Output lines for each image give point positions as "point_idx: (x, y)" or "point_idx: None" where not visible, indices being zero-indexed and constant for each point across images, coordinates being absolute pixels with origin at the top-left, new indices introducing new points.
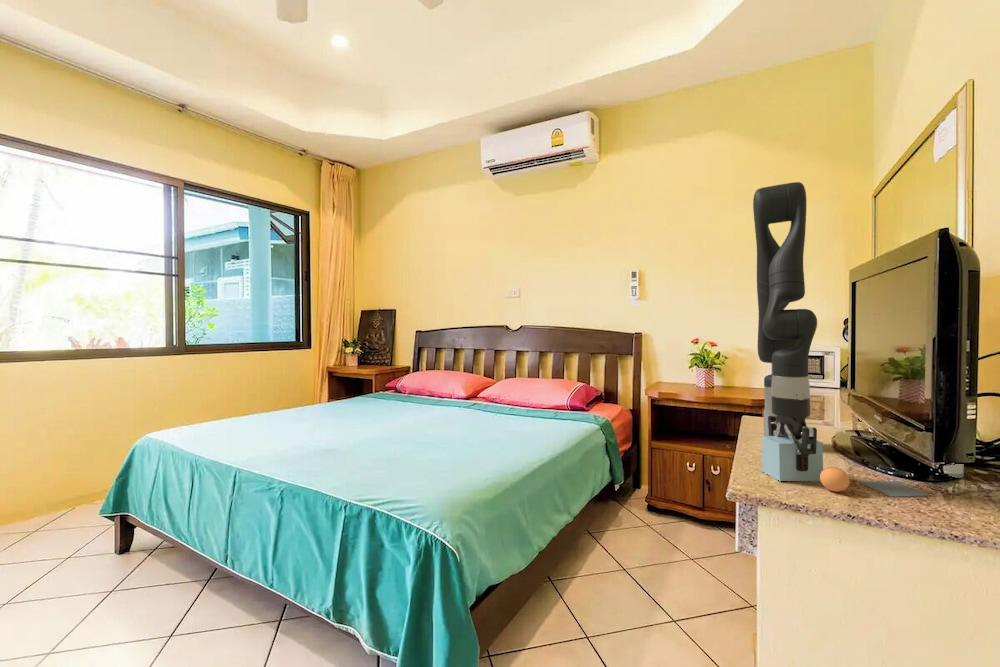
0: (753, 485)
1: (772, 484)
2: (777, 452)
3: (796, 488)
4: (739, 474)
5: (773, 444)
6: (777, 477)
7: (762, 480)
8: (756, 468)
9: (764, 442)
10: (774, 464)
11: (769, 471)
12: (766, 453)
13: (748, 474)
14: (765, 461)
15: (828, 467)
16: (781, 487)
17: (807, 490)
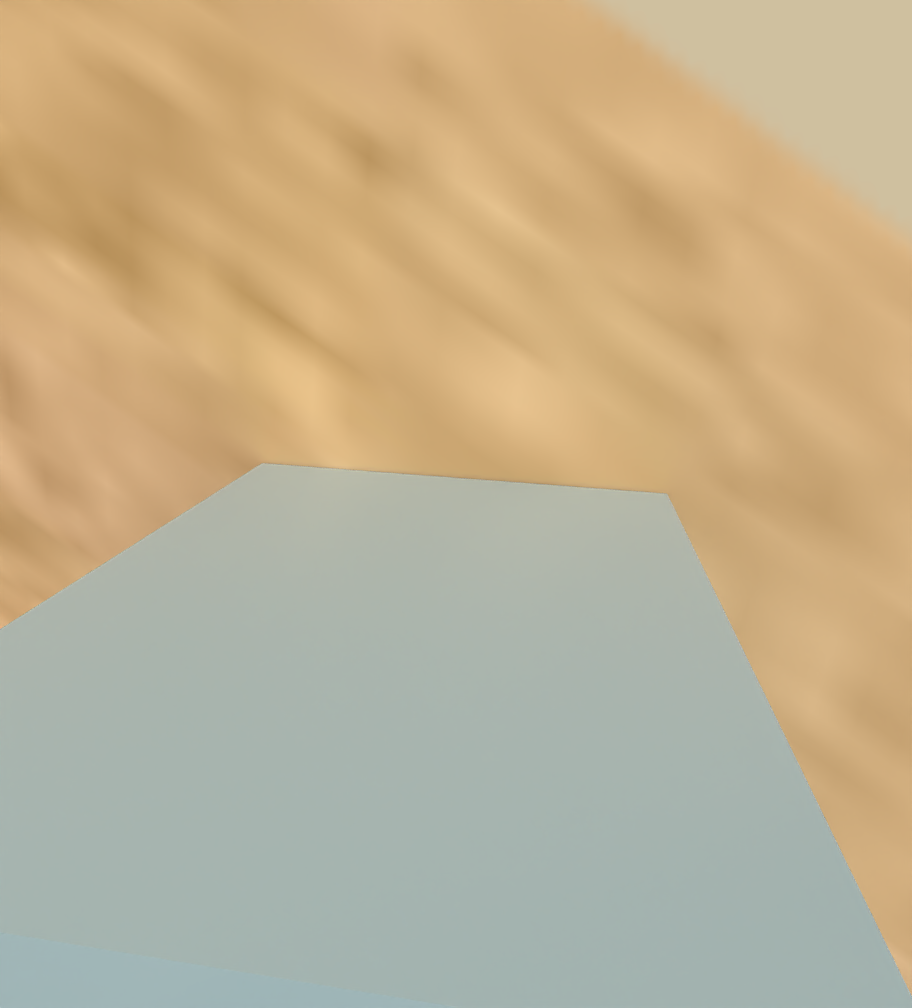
0: (155, 2)
1: (195, 319)
2: (21, 669)
3: (70, 514)
4: (659, 65)
5: (68, 819)
6: (294, 480)
7: (350, 281)
8: (861, 528)
9: (652, 839)
10: (300, 547)
11: (481, 503)
12: (540, 635)
13: (629, 228)
14: (583, 557)
15: None
16: (93, 364)
17: (19, 584)
